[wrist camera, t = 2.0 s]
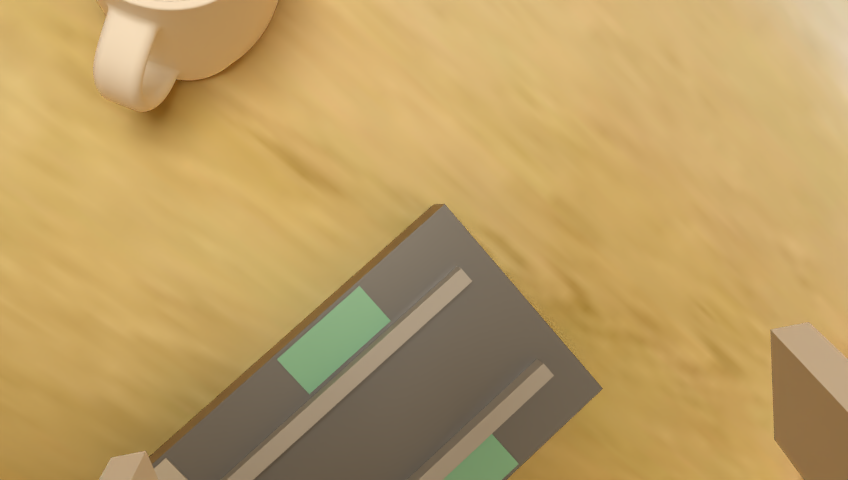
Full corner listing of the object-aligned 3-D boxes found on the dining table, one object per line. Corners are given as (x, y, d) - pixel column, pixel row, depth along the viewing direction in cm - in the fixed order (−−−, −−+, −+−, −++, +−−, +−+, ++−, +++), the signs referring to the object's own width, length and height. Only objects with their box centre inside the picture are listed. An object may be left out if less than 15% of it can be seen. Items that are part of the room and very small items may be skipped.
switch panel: (61, 534, 35) (30, 575, 31) (433, 204, 38) (448, 203, 34) (233, 700, 37) (224, 759, 33) (580, 375, 39) (610, 393, 35)
